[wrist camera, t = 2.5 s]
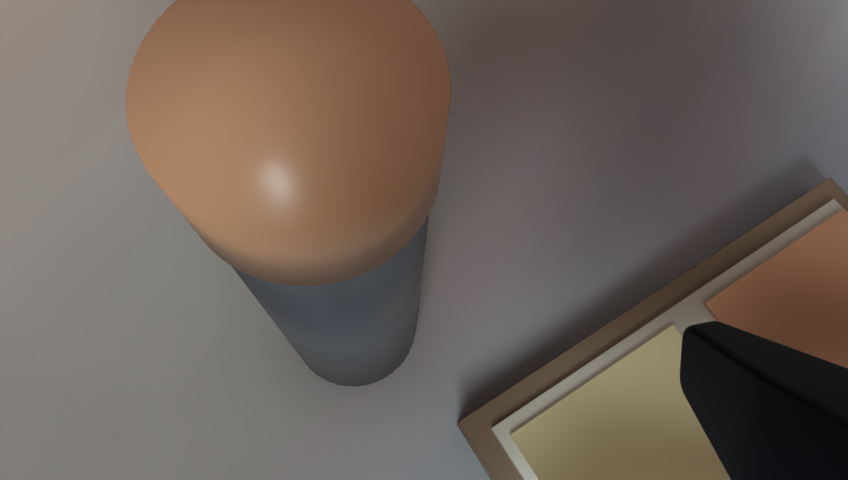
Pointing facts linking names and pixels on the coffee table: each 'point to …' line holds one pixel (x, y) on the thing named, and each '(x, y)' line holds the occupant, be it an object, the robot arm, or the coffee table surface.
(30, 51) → the coffee table surface
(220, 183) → the marker
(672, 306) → the picture board
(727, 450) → the robot arm
